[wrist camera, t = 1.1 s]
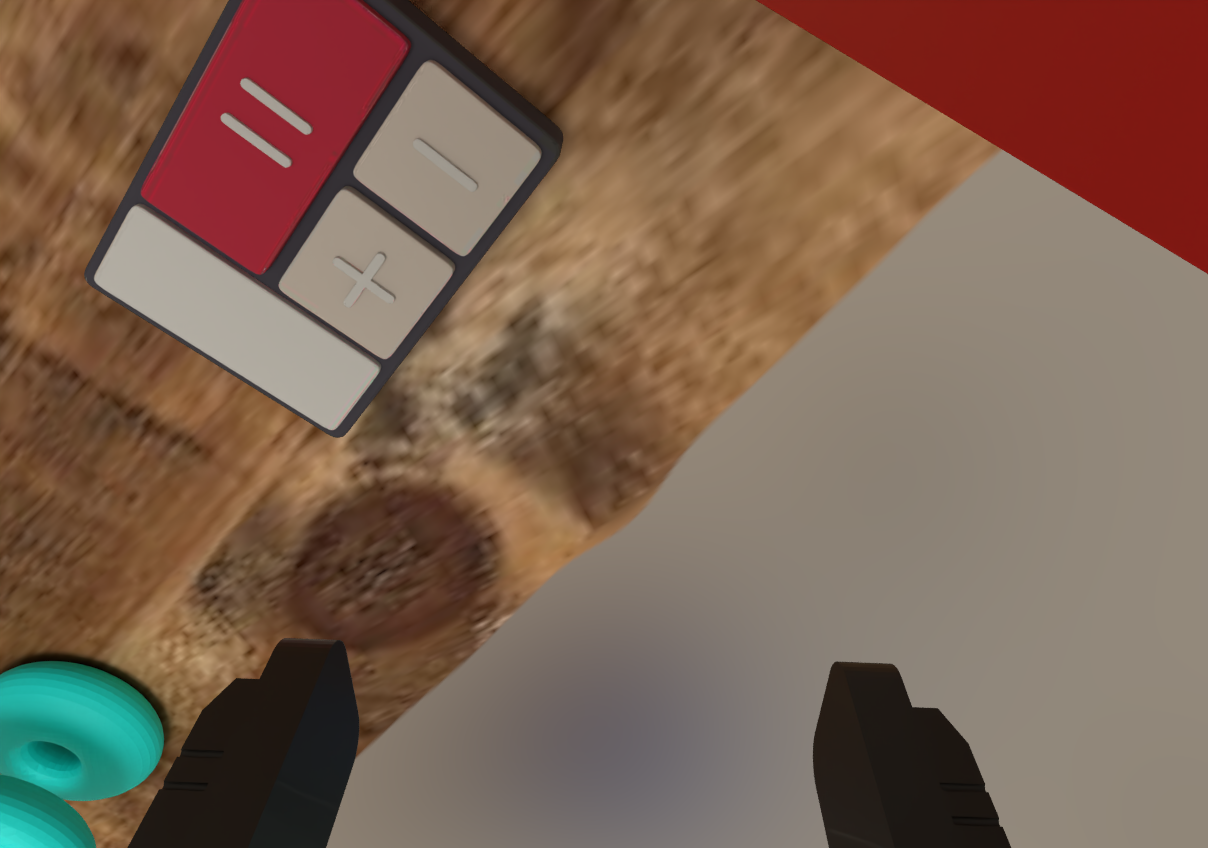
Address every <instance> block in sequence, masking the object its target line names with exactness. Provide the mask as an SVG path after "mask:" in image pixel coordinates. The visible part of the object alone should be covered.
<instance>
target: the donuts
mask: <svg viewBox="0 0 1208 848" xmlns="http://www.w3.org/2000/svg"><path fill="white" fill-rule="evenodd" d="M163 747H164V733H163V727H162V724H161V721H160V719H159V717H158V715H157V713H156V711H155V710H154V709H153V707H152V706H151V704H150V703H149V702H148V701H147V700H146V699H145V697H144V696H143V695H142V694H140V693H139V692H138V691H137V690H136V689H134V688H133V687H132V686H130V685H129V684H127V683H126V682H124V681H123V680H121V679H119V678H117V677H115V676H113V675H111V674H109V673H107V672H104V671H102V670H99V669H96V668H93V667H90V666H86V665H82V664H78V663H72V662H64V661H41V662H33V663H28V664H24V665H20V666H18V667H15V668H13V669H10V670H8V671H6V672H4V673H2V674H1V675H0V773H1V774H2V775H0V848H96V844H95V840H94V837H93V835H92V833H91V831H90V829H89V827H88V825H87V824H86V822H85V821H84V819H83V818H82V817H81V816H80V814H79V813H78V812H77V811H76V810H75V809H74V808H72V807H71V806H70V805H69V804H68V803H66V802H65V801H64V800H73V801H92V800H99V799H104V798H109V797H113V796H117V795H119V794H122V793H124V792H126V791H128V790H130V789H132V788H134V787H135V786H137V785H138V784H140V783H141V782H142V781H144V780H145V779H146V778H147V777H148V776H149V775H150V774H151V772H152V771H153V770H154V769H155V767H156V765H157V764H158V762H159V760H160V758H161V755H162V751H163ZM62 799H64V800H62Z"/></svg>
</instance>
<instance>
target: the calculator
mask: <svg viewBox="0 0 1208 848" xmlns="http://www.w3.org/2000/svg"><path fill="white" fill-rule="evenodd" d="M562 143H563V134H562V131H561V130H560V129H559V128H558V126H556V125H555V124H554V123H553V122H552V121H551V120H549V119H548V118H547V117H546V116H545V115H544V114H542V113H541V112H540V111H539V110H538V109H536V108H535V107H534V106H533V105H532V104H531V103H529V102H528V101H527V100H526V99H525V98H523V97H522V96H521V95H520V94H519V93H517V92H516V91H515V90H514V89H513V88H512V87H510V86H509V85H508V84H507V83H506V82H504V81H503V80H502V79H501V78H500V77H498V76H497V75H496V74H495V73H494V72H493V71H491V70H490V69H489V68H488V67H487V66H485V65H484V64H483V63H482V62H481V61H480V60H478V59H477V58H476V57H475V56H474V55H472V54H471V53H470V52H469V51H468V50H466V49H465V48H464V47H463V46H462V45H461V44H459V43H458V42H457V41H456V40H455V39H453V38H452V37H451V36H450V35H449V34H447V33H446V32H445V31H444V30H443V29H442V28H440V27H439V26H438V25H437V24H436V23H434V22H433V21H432V20H431V19H430V18H429V17H427V16H426V15H425V14H424V13H423V12H421V11H420V10H419V9H418V8H417V7H415V6H414V5H413V4H412V3H411V2H410V1H408V0H229V1H228V3H227V5H226V7H225V8H224V10H223V12H222V14H221V16H220V18H219V20H218V22H217V23H216V25H215V27H214V29H213V31H212V33H211V35H210V37H209V38H208V40H207V42H206V44H205V46H204V48H203V50H202V52H201V53H200V55H199V57H198V59H197V61H196V63H195V65H194V67H193V68H192V70H191V72H190V74H189V76H188V78H187V80H186V82H185V83H184V85H183V87H182V89H181V91H180V93H179V95H178V97H177V98H176V100H175V102H174V104H173V106H172V108H171V110H170V112H169V113H168V115H167V117H166V119H165V121H164V123H163V125H162V127H161V128H160V130H159V132H158V134H157V136H156V138H155V140H154V142H153V143H152V145H151V147H150V149H149V151H148V153H147V155H146V157H145V158H144V160H143V162H142V164H141V166H140V168H139V170H138V172H137V173H136V175H135V177H134V179H133V181H132V183H131V185H130V187H129V188H128V190H127V192H126V194H125V196H124V198H123V200H122V202H121V203H120V205H119V207H118V209H117V211H116V213H115V215H114V217H113V218H112V220H111V222H110V224H109V226H108V228H107V230H106V232H105V233H104V235H103V237H102V239H101V241H100V243H99V245H98V247H97V248H96V250H95V252H94V254H93V256H92V258H91V260H90V262H89V263H88V265H87V267H86V270H85V273H84V276H85V279H86V281H87V283H88V284H89V285H91V286H92V287H93V288H95V289H96V290H98V291H99V292H101V293H103V294H104V295H106V296H107V297H109V298H111V299H112V300H114V301H115V302H117V303H119V304H120V305H122V306H123V307H125V308H127V309H128V310H130V311H131V312H133V313H135V314H136V315H138V316H139V317H141V318H143V319H144V320H146V321H147V322H149V323H151V324H152V325H154V326H155V327H157V328H159V329H160V330H162V331H163V332H165V333H167V334H168V335H170V336H171V337H173V338H175V339H176V340H178V341H179V342H181V343H183V344H184V345H186V346H187V347H189V348H191V349H192V350H194V351H195V352H197V353H199V354H200V355H202V356H203V357H205V358H207V359H208V360H210V361H211V362H213V363H215V364H216V365H218V366H219V367H221V368H223V369H224V370H226V371H227V372H229V373H231V374H232V375H234V376H236V377H237V378H239V379H240V380H242V381H244V382H245V383H247V384H248V385H250V386H252V387H253V388H255V389H256V390H258V391H260V392H261V393H263V394H264V395H266V396H268V397H269V398H271V399H272V400H274V401H276V402H277V403H279V404H280V405H282V406H284V407H285V408H287V409H288V410H290V411H292V412H293V413H295V414H296V415H298V416H300V417H301V418H303V419H304V420H306V421H308V422H309V423H311V424H312V425H314V426H316V427H317V428H319V429H320V430H322V431H324V432H325V433H327V434H329V435H330V436H333V437H336V438H338V437H343V436H344V435H345V434H346V433H347V432H348V431H349V430H350V429H351V427H352V426H353V425H354V423H355V422H356V421H357V419H358V418H359V417H360V416H361V414H362V413H363V412H364V410H365V409H366V408H367V406H368V405H369V404H370V403H371V401H372V400H373V399H374V397H375V396H376V395H377V393H378V392H379V391H380V390H381V388H382V387H383V386H384V384H385V383H386V382H387V381H388V379H389V378H390V377H391V375H392V374H393V373H394V371H395V370H396V369H397V368H398V366H399V365H400V364H401V362H402V361H403V360H404V358H405V357H406V356H407V355H408V353H409V352H410V351H411V349H412V348H413V347H414V345H415V344H416V343H417V342H418V340H419V339H420V338H421V336H422V335H423V334H424V332H425V331H426V330H427V329H428V327H429V326H430V325H431V323H432V322H433V321H434V319H435V318H436V317H437V316H438V314H439V313H440V312H441V310H442V309H443V308H444V306H445V305H446V304H447V303H448V301H449V300H450V299H451V297H452V296H453V295H454V294H455V292H456V291H457V290H458V288H459V287H460V286H461V284H462V283H463V282H464V281H465V279H466V278H467V277H468V275H469V274H470V273H471V271H472V270H473V269H474V268H475V266H476V265H477V264H478V262H479V261H480V260H481V258H482V257H483V256H484V255H485V253H486V252H487V251H488V249H489V248H490V247H491V245H492V244H493V243H494V242H495V240H496V239H497V238H498V236H499V235H500V234H501V232H502V231H503V230H504V229H505V227H506V226H507V225H508V223H509V222H510V221H511V219H512V218H513V217H514V216H515V214H516V213H517V212H518V210H519V209H520V208H521V207H522V205H523V204H524V203H525V201H526V200H527V199H528V197H529V196H530V195H531V194H532V192H533V191H534V190H535V188H536V187H537V186H538V184H539V183H540V182H541V181H542V179H543V178H544V177H545V175H546V174H547V173H548V171H549V170H550V169H551V167H552V166H553V165H554V164H555V162H556V161H557V159H558V158H559V155H560V152H561V148H562Z"/></svg>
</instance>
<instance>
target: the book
mask: <svg viewBox="0 0 1208 848" xmlns="http://www.w3.org/2000/svg"><path fill="white" fill-rule="evenodd" d="M756 1H758V2H760V3H761V4H763V5H765V6H766V7H768V8H770V9H771V10H773V11H775V12H776V13H778V14H780V15H781V16H783V17H785V18H786V19H788V20H789V21H791V22H793V23H794V24H796V25H798V26H799V27H801V28H803V29H804V30H806V31H808V32H809V33H811V34H813V35H814V36H816V37H818V38H819V39H821V40H823V41H824V42H826V43H827V44H829V45H831V46H832V47H834V48H836V49H837V50H839V51H841V52H842V53H844V54H846V55H847V56H849V57H851V58H852V59H854V60H856V61H857V62H859V63H860V64H862V65H864V66H865V67H867V68H869V69H870V70H872V71H874V72H875V73H877V74H879V75H880V76H882V77H884V78H885V79H887V80H889V81H890V82H892V83H894V84H895V85H897V86H898V87H900V88H902V89H903V90H905V91H907V92H908V93H910V94H912V95H913V96H915V97H917V98H918V99H920V100H922V101H923V102H925V103H927V104H928V105H930V106H931V107H933V108H935V109H936V110H938V111H940V112H941V113H943V114H945V115H946V116H948V117H950V118H951V119H953V120H955V121H956V122H958V123H960V124H961V125H963V126H964V127H966V128H968V129H969V130H971V131H973V132H974V133H976V134H978V135H979V136H981V137H983V138H984V139H986V140H988V141H989V142H991V143H993V144H994V145H996V146H997V147H999V148H1001V149H1002V150H1004V151H1006V152H1007V153H1009V154H1011V155H1012V156H1014V157H1016V158H1017V159H1019V160H1021V161H1022V162H1024V163H1026V164H1027V165H1029V166H1031V167H1032V168H1034V169H1035V170H1037V171H1039V172H1040V173H1042V174H1044V175H1046V176H1047V177H1049V178H1050V179H1052V180H1054V181H1055V182H1057V183H1059V184H1060V185H1062V186H1064V187H1065V188H1067V189H1069V190H1070V191H1072V192H1074V193H1075V194H1077V195H1078V196H1080V197H1082V198H1083V199H1085V200H1087V201H1088V202H1090V203H1092V204H1093V205H1095V206H1097V207H1098V208H1100V209H1102V210H1103V211H1105V212H1107V213H1108V214H1110V215H1111V216H1113V217H1115V218H1117V219H1118V220H1120V221H1121V222H1123V223H1125V224H1126V225H1128V226H1130V227H1132V228H1133V229H1135V230H1136V231H1138V232H1140V233H1141V234H1143V235H1145V236H1146V237H1148V238H1150V239H1151V240H1153V241H1154V242H1156V243H1158V244H1159V245H1161V246H1163V247H1164V248H1166V249H1168V250H1169V251H1171V252H1173V253H1174V254H1176V255H1178V256H1179V257H1181V258H1182V259H1184V260H1186V261H1187V262H1189V263H1191V264H1192V265H1194V266H1196V267H1197V268H1199V269H1201V270H1202V271H1204V272H1206V273H1207V274H1208V0H756Z"/></svg>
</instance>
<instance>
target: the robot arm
mask: <svg viewBox="0 0 1208 848" xmlns="http://www.w3.org/2000/svg"><path fill="white" fill-rule="evenodd" d="M358 738H359V715H358V709H357V704H356V699H355V693H354V688H353V683H352V678H351V673H350V668H349V663H348V658H347V652H346V648H345V645H344V643H343V642H342V641H340V640H320V639H295V638H284V639H282V640H281V641H280V642H279V643H278V644H277V645H276V647H275V649H274V651H273V653H272V655H271V657H270V659H269V661H268V663H267V665H266V667H265V669H264V671H263V673H262V675H261V677H260V679H241V678H236V679H235V680H234V681H233V682H232V683H231V684H230V685H229V686H228V687H226V688H225V689H224V690H223V691H222V692H221V693H220V694H219V695H218V696H217V697H216V698H215V699H214V700H213V701H212V702H211V703H210V704H209V705H208V706H207V707H205V708H204V709H203V710H202V712H201V714H200V716H199V717H198V719H197V721H196V723H195V725H194V727H193V728H192V730H191V732H190V734H189V736H188V738H187V739H186V741H185V743H184V745H183V747H182V749H181V755H180V757H177V758H176V760H175V761H174V763H173V765H172V767H171V769H170V771H169V772H168V774H167V776H166V778H165V780H164V786H163V788H162V789H159V791H158V793H157V795H156V796H155V798H154V800H153V802H152V804H151V806H150V807H149V809H148V811H147V813H146V815H145V817H144V818H143V820H142V822H141V824H140V826H139V828H138V829H137V831H136V833H135V835H134V837H133V839H132V840H131V842H130V844H129V846H128V848H326V846H327V843H328V840H329V837H330V834H331V831H332V828H333V825H334V822H335V819H336V816H337V813H338V810H339V807H340V803H341V800H342V798H343V794H344V791H345V789H346V785H347V782H348V779H349V776H350V773H351V770H352V767H353V763H354V760H355V756H356V752H357V746H358ZM813 768H814V777H815V784H816V789H817V794H818V799H819V803H820V808H821V813H822V817H823V822H824V827H825V831H826V835H827V840H828V845H829V848H1011V846H1010V844H1009V841H1008V839H1007V836H1006V834H1005V831H1004V829H1003V827H1000V825H999V817H998V814H997V812H996V810H995V807H994V805H993V803H992V800H991V797H990V795H989V793H988V792H986V791H985V783H984V781H983V778H982V776H981V773H980V771H979V768H978V766H977V763H976V761H975V759H974V756H973V754H972V751H971V749H970V746H969V744H968V743H967V742H966V740H965V739H964V738H963V737H962V736H961V735H960V733H959V732H958V731H957V730H956V729H955V728H954V727H953V725H952V724H951V723H950V722H949V721H948V720H947V719H946V718H945V716H944V715H943V714H942V713H941V712H940V710H939V709H938V708H917V707H912V705H911V702H910V700H909V697H908V695H907V692H906V689H905V686H904V683H903V680H902V677H901V675H900V673H899V671H898V669H897V668H896V667H895V666H894V665H893V664H883V663H858V662H835V663H834V664H833V665H832V667H831V670H830V674H829V678H828V682H827V686H826V691H825V694H824V698H823V703H822V707H821V711H820V715H819V719H818V723H817V727H816V731H815V736H814V743H813Z"/></svg>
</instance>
